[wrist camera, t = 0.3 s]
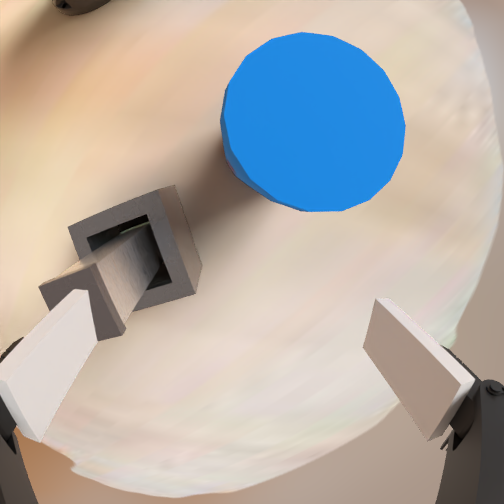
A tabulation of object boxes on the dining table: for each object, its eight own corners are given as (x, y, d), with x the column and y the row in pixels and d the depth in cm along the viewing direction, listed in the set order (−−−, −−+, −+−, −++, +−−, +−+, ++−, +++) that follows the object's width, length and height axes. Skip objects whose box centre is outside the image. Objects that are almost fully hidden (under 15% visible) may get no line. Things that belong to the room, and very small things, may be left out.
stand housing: (100, 213, 38) (63, 228, 27) (174, 184, 38) (155, 190, 27) (129, 287, 41) (104, 322, 31) (202, 265, 41) (194, 297, 31)
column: (122, 229, 39) (33, 288, 17) (159, 215, 39) (89, 266, 17) (135, 263, 40) (64, 348, 19) (172, 251, 40) (122, 335, 19)
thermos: (313, 127, 37) (422, 83, 13) (289, 198, 40) (377, 240, 16) (238, 101, 36) (257, 6, 12) (213, 174, 38) (191, 178, 14)
